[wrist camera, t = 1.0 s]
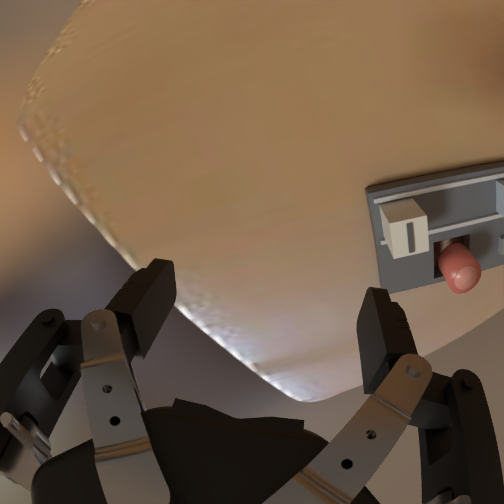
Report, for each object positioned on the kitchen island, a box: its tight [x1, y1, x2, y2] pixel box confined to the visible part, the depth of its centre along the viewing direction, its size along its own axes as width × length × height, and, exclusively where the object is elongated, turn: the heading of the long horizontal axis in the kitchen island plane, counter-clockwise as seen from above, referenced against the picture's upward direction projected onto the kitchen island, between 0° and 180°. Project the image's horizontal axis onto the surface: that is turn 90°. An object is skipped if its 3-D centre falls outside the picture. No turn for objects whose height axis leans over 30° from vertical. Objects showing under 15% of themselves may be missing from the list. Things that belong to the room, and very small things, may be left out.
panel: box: [365, 161, 504, 294], centre depth 29 cm, size 22×14×7 cm, turn 109°
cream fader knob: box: [379, 198, 429, 259], centre depth 29 cm, size 4×4×5 cm
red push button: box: [438, 243, 481, 293], centre depth 29 cm, size 5×5×4 cm
